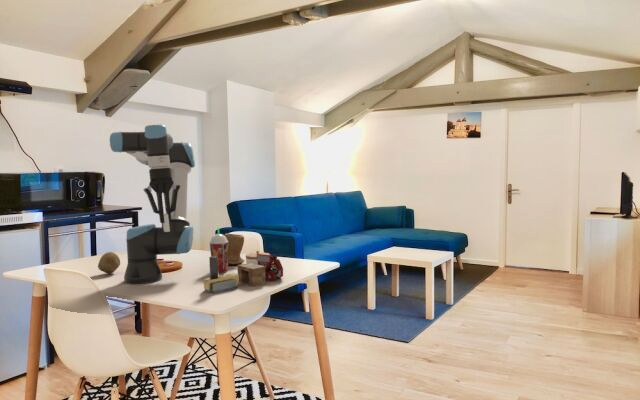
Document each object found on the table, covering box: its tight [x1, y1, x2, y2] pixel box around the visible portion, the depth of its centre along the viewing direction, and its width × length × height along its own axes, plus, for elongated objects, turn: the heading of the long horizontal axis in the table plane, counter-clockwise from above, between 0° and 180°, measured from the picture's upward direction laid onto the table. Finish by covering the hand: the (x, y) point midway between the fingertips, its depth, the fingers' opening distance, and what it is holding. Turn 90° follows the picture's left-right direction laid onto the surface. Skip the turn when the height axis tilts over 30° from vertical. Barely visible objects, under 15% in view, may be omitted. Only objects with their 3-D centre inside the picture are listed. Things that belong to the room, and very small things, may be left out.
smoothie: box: [209, 227, 229, 274], centre depth 210 cm, size 8×8×20 cm
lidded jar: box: [245, 250, 271, 265], centre depth 208 cm, size 11×11×9 cm
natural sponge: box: [97, 251, 121, 274], centre depth 211 cm, size 9×9×10 cm
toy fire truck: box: [257, 254, 284, 282], centre depth 193 cm, size 7×12×10 cm, turn 60°
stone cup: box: [223, 233, 245, 265], centre depth 228 cm, size 15×12×15 cm
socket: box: [236, 263, 267, 287], centre depth 187 cm, size 11×6×7 cm, turn 42°
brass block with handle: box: [203, 256, 240, 290], centre depth 178 cm, size 4×13×12 cm, turn 131°
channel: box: [204, 279, 238, 294], centre depth 178 cm, size 7×10×4 cm, turn 132°
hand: (166, 231), depth 172 cm, fingers closed
